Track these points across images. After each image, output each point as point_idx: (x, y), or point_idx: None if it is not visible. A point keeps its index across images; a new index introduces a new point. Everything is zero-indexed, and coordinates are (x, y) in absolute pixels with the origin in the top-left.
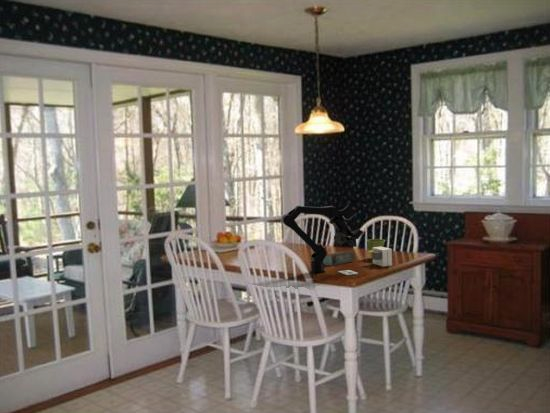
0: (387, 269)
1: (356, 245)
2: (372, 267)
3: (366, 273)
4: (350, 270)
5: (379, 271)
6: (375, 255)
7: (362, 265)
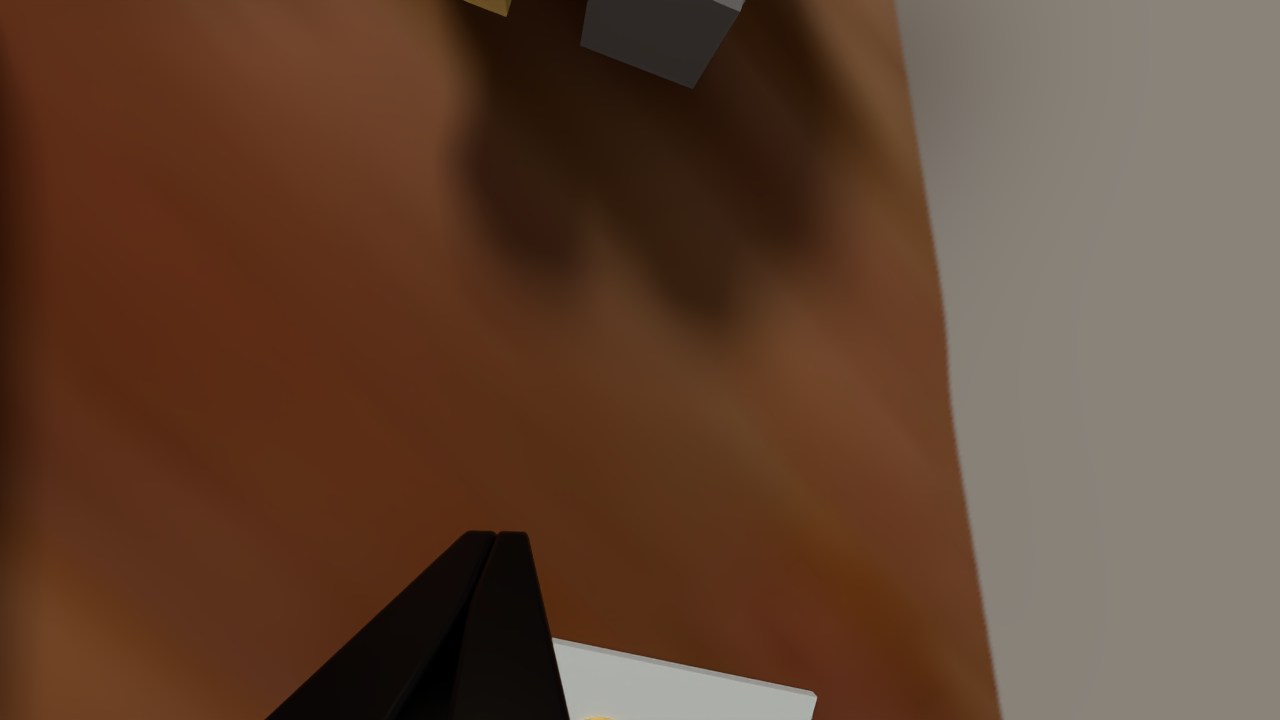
0: (904, 181)
1: (532, 556)
2: (649, 198)
3: (875, 590)
4: (601, 658)
5: (913, 364)
6: (719, 41)
7: (402, 166)
